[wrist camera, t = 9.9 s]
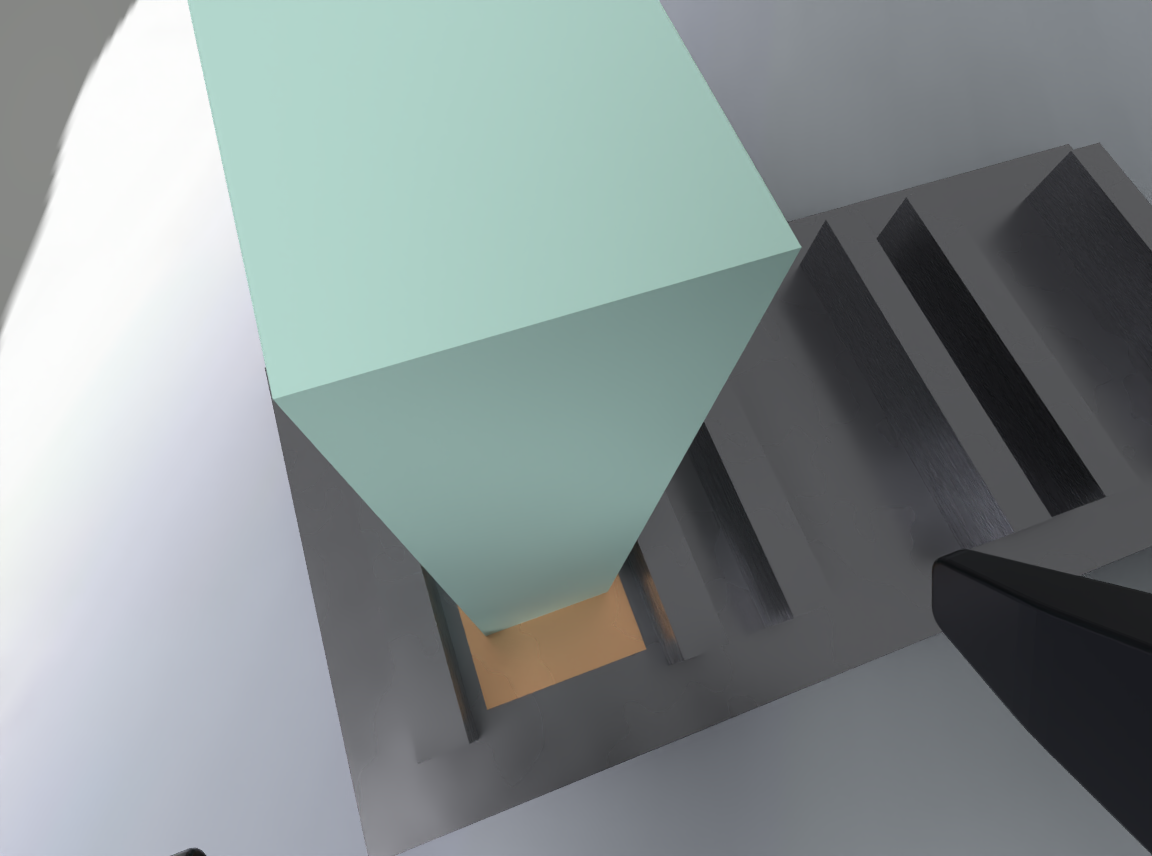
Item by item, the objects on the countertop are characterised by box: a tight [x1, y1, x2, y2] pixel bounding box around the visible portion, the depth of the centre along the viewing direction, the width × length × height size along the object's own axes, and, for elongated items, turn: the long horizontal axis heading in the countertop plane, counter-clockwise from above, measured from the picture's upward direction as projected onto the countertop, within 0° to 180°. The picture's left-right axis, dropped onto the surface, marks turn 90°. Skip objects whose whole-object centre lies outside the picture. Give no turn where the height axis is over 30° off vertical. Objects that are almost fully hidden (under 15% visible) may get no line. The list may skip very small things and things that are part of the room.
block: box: [188, 0, 801, 636], centre depth 10 cm, size 3×5×13 cm, turn 20°
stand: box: [265, 143, 1152, 856], centre depth 16 cm, size 12×26×5 cm, turn 110°
